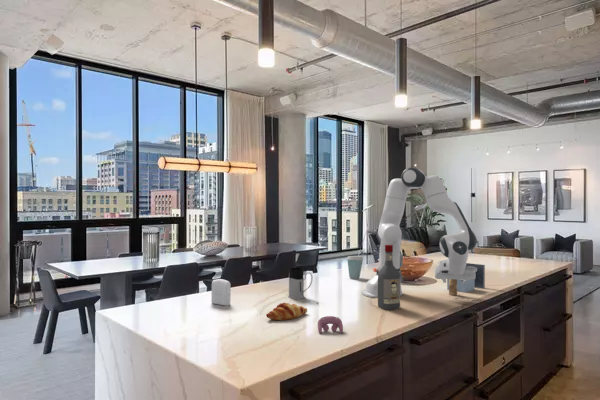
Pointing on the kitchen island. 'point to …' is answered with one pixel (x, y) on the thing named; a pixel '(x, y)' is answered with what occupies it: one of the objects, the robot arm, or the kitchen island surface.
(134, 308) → the kitchen island surface
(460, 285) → the socket block
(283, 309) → the croissant
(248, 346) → the kitchen island surface
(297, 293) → the grey mug
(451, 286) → the dowel
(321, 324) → the video game controller
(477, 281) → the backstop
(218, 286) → the gravestone
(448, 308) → the kitchen island surface
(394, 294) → the liquor
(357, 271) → the disposable coffee cup
